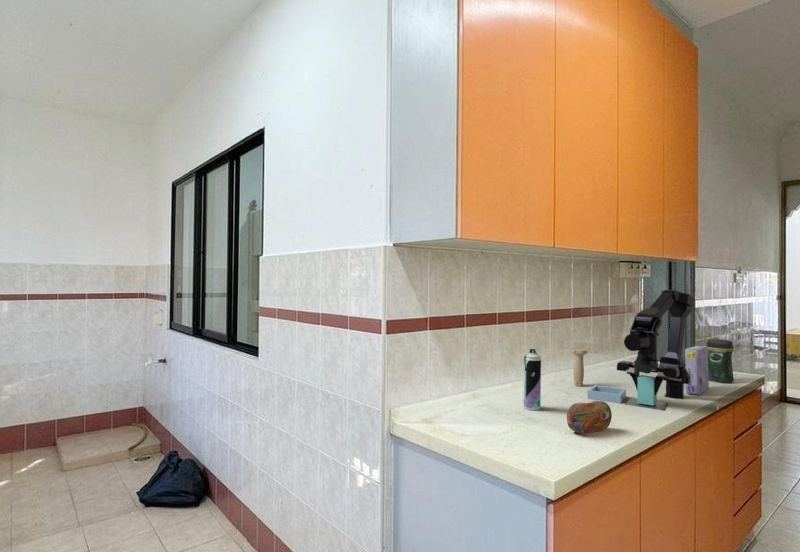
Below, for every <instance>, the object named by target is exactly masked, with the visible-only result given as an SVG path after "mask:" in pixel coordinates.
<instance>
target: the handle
mask: <svg viewBox="0 0 800 552" xmlns="http://www.w3.org/2000/svg"><path fill="white" fill-rule="evenodd" d="M570 353H572V354H573V355H574V360H573V362H574V363H573V381H574V382H573V383H574V386H575V387H583V386H584V380H585V379H584V377H585V369H584V368H585V367H584V356H585V355H586V354H588V350H587V349H583V348H573V347H572V348H571V349H570Z"/></svg>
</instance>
